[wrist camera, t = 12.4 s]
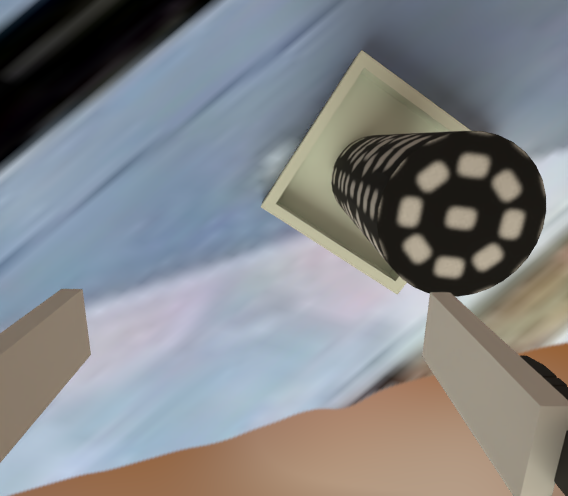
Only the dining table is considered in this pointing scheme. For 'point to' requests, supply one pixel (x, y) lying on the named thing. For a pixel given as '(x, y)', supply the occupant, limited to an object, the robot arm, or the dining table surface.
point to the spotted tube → (443, 205)
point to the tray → (328, 146)
